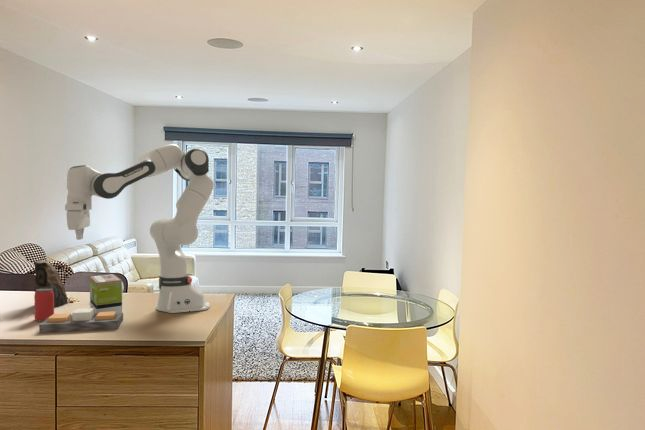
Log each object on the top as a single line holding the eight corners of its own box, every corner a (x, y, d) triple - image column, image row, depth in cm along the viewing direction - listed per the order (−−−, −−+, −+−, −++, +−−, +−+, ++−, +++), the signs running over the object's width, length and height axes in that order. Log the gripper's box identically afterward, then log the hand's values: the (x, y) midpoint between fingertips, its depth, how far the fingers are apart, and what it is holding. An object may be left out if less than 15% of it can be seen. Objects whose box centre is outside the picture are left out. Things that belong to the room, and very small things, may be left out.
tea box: (89, 310, 198) (89, 275, 198) (114, 306, 204) (114, 273, 204) (96, 318, 186) (96, 281, 186) (122, 314, 192) (122, 279, 192)
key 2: (116, 319, 181) (116, 311, 180) (113, 324, 175) (113, 315, 175) (99, 320, 179) (99, 312, 179) (96, 325, 173) (96, 316, 173)
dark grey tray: (123, 320, 184) (123, 312, 184) (117, 328, 172) (117, 320, 172) (50, 323, 178) (50, 315, 177) (39, 333, 166) (39, 324, 166)
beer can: (34, 322, 179) (33, 291, 178) (35, 318, 185) (35, 288, 184) (53, 320, 182) (53, 290, 181) (54, 316, 188) (54, 286, 187)
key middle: (93, 316, 179) (93, 308, 178) (90, 321, 173) (90, 312, 173) (76, 317, 177) (76, 308, 177) (72, 322, 171) (72, 312, 171)
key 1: (71, 322, 177) (70, 313, 176) (66, 326, 171) (66, 317, 171) (53, 322, 175) (53, 314, 175) (48, 327, 169) (48, 318, 169)
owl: (49, 310, 197) (49, 263, 196) (22, 308, 199) (21, 262, 198) (69, 303, 210) (69, 259, 209) (44, 301, 211) (43, 258, 210)
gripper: (77, 204, 197) (77, 236, 198) (63, 206, 177) (63, 242, 178) (93, 204, 199) (94, 236, 199) (81, 206, 179) (81, 241, 180)
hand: (79, 239), depth 189 cm, fingers closed
